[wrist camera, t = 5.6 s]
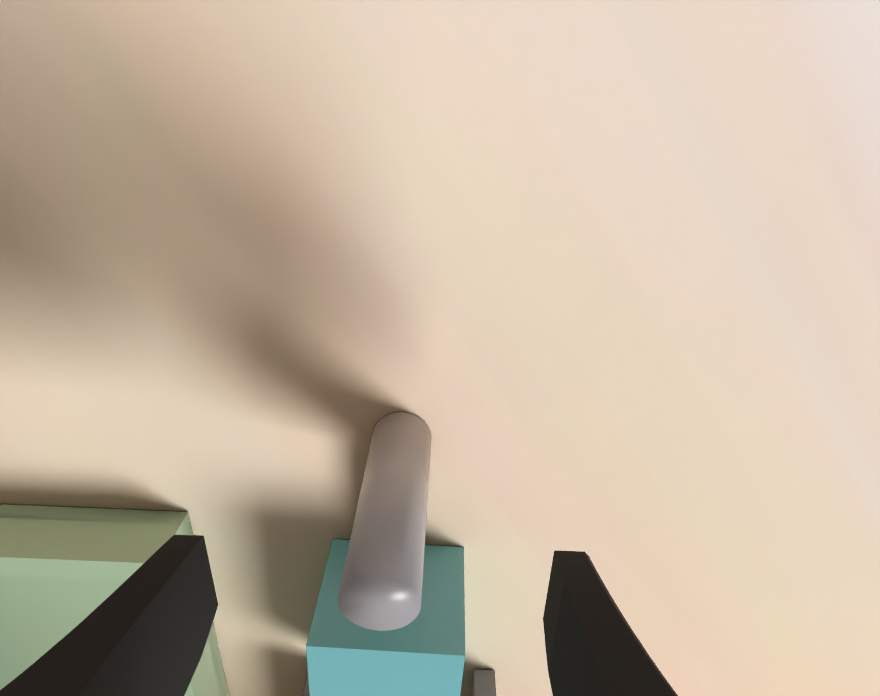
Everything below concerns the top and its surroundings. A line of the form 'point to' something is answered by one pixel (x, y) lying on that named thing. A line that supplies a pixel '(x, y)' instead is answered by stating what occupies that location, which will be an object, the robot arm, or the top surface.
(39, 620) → the tray
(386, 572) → the cyan and grey piece
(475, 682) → the rack
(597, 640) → the robot arm
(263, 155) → the top surface
